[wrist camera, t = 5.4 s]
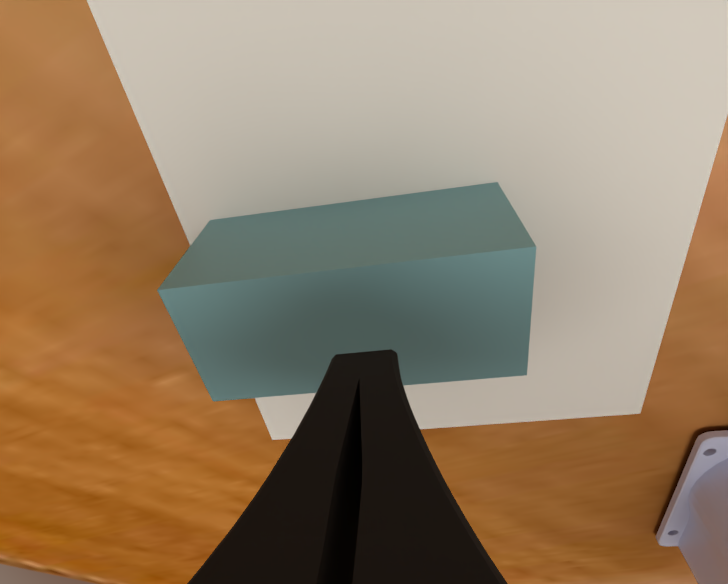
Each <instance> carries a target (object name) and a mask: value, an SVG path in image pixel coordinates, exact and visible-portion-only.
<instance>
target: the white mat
mask: <svg viewBox="0 0 728 584" xmlns="http://www.w3.org/2000/svg"><path fill="white" fill-rule="evenodd" d="M87 2H88V4H89V7H90V9H91V12H92V14H93V16H94V19H95V21H96V23H97V26H98V28H99V31H100V33H101V35H102V38H103V40H104V42H105V45H106V47H107V49H108V52H109V54H110V57H111V59H112V61H113V64H114V66H115V68H116V71H117V73H118V76H119V78H120V80H121V83H122V85H123V87H124V90H125V92H126V94H127V97H128V99H129V102H130V104H131V106H132V109H133V111H134V113H135V116H136V118H137V121H138V123H139V125H140V128H141V130H142V132H143V135H144V137H145V139H146V142H147V144H148V147H149V149H150V151H151V154H152V156H153V158H154V161H155V163H156V165H157V168H158V170H159V173H160V175H161V177H162V180H163V182H164V184H165V187H166V189H167V192H168V194H169V196H170V199H171V201H172V203H173V206H174V208H175V210H176V213H177V215H178V218H179V220H180V222H181V225H182V227H183V229H184V232H185V234H186V237H187V239H188V241H189V244H190V246H191V245H192V243H193V242H194V241H195V239H196V238H197V237H198V235H199V234H200V233H201V231H202V230H203V229H204V227H205V226H206V225H207V223H208V222H209V221H210V220H214V219H222V218H229V217H237V216H244V215H252V214H260V213H267V212H275V211H282V210H290V209H297V208H305V207H312V206H320V205H327V204H335V203H343V202H350V201H358V200H365V199H373V198H380V197H388V196H395V195H403V194H411V193H418V192H426V191H433V190H441V189H448V188H456V187H463V186H471V185H478V184H486V183H494V182H498V184H499V185H500V187H501V189H502V190H503V192H504V194H505V195H506V197H507V199H508V200H509V202H510V204H511V205H512V207H513V209H514V210H515V212H516V214H517V215H518V217H519V219H520V220H521V222H522V223H523V225H524V227H525V228H526V230H527V232H528V233H529V235H530V237H531V238H532V240H533V242H534V243H535V245H536V259H535V272H534V286H533V300H532V313H531V327H530V341H529V354H528V368H527V375H524V376H512V377H500V378H488V379H476V380H464V381H452V382H440V383H428V384H416V385H404V390H405V393H406V396H407V399H408V401H409V404H410V407H411V409H412V412H413V414H414V417H415V419H416V421H417V424H418V426H419V429H431V428H445V427H459V426H473V425H487V424H501V423H515V422H529V421H543V420H557V419H571V418H585V417H599V416H613V415H627V414H640V412H641V409H642V406H643V402H644V399H645V395H646V392H647V388H648V385H649V382H650V378H651V375H652V371H653V368H654V365H655V361H656V358H657V354H658V351H659V347H660V344H661V341H662V337H663V334H664V330H665V327H666V323H667V320H668V317H669V313H670V310H671V306H672V303H673V299H674V296H675V293H676V289H677V286H678V282H679V279H680V275H681V272H682V269H683V265H684V262H685V258H686V255H687V252H688V248H689V245H690V241H691V238H692V234H693V231H694V228H695V224H696V221H697V217H698V214H699V210H700V207H701V204H702V200H703V197H704V193H705V190H706V186H707V183H708V180H709V176H710V173H711V169H712V166H713V163H714V159H715V156H716V152H717V149H718V145H719V142H720V139H721V135H722V132H723V128H724V125H725V121H726V118H727V115H728V0H87ZM315 394H316V393H308V394H296V395H284V396H272V397H260V398H255V400H256V402H257V405H258V407H259V409H260V412H261V414H262V416H263V419H264V421H265V424H266V426H267V428H268V431H269V433H270V435H271V438H272V440H277V439H291V438H292V437H293V435H294V433H295V432H296V430H297V428H298V426H299V424H300V423H301V421H302V419H303V417H304V415H305V413H306V412H307V410H308V408H309V406H310V404H311V402H312V400H313V398H314V396H315Z"/></svg>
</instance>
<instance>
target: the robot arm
mask: <svg viewBox="0 0 728 584" xmlns="http://www.w3.org/2000/svg"><path fill="white" fill-rule="evenodd" d="M656 539H657V541H658V543H659V544H660V545H661V546H678V547H679V549H680V550H681V552H682V554H683V556H684V558H685V560H686V562H687V564H688V565H689V567H690V569H691V571H692V573H693V575H694V577H695V579H696V580H697V582H698V584H728V430H722V431H709V432H705V433H702V434H701V435H699V436H698V437H697V439H696V441H695V444H694V446H693V448H692V451H691V453H690V456H689V458H688V460H687V463H686V465H685V467H684V470H683V472H682V475H681V477H680V479H679V482H678V484H677V487H676V489H675V491H674V494H673V496H672V499H671V501H670V503H669V506H668V508H667V511H666V513H665V515H664V518H663V520H662V522H661V525H660V527H659V530H658V532H657V534H656ZM187 584H507V582H506V581H505V579H504V578H503V576H502V575H501V573H500V572H499V570H498V569H497V567H496V566H495V564H494V563H493V561H492V560H491V558H490V557H489V555H488V554H487V552H486V551H485V549H484V547H483V546H482V544H481V542H480V541H479V539H478V538H477V536H476V534H475V533H474V531H473V529H472V528H471V526H470V524H469V523H468V521H467V519H466V518H465V516H464V514H463V513H462V511H461V509H460V507H459V506H458V504H457V502H456V500H455V499H454V497H453V495H452V493H451V491H450V490H449V488H448V486H447V484H446V482H445V480H444V478H443V477H442V475H441V473H440V471H439V469H438V467H437V465H436V463H435V461H434V459H433V457H432V455H431V453H430V451H429V449H428V446H427V444H426V442H425V440H424V438H423V436H422V433H421V431H420V429H419V426H418V424H417V421H416V419H415V417H414V414H413V412H412V409H411V407H410V404H409V401H408V399H407V396H406V393H405V390H404V386H403V383H402V380H401V375H400V369H399V362H398V355H397V353H396V352H395V351H393V350H392V349H389V350H378V351H368V352H357V353H346V354H336V355H335V356H334V357H333V358H332V360H331V362H330V364H329V367H328V369H327V371H326V374H325V376H324V378H323V380H322V382H321V384H320V386H319V388H318V390H317V392H316V394H315V396H314V398H313V400H312V402H311V404H310V406H309V408H308V410H307V412H306V413H305V415H304V417H303V419H302V421H301V423H300V424H299V426H298V428H297V430H296V432H295V433H294V435H293V437H292V439H291V440H290V442H289V444H288V445H287V447H286V449H285V450H284V452H283V453H282V455H281V457H280V458H279V460H278V461H277V463H276V465H275V466H274V468H273V469H272V471H271V473H270V474H269V476H268V477H267V479H266V480H265V482H264V483H263V485H262V486H261V488H260V489H259V491H258V492H257V494H256V495H255V497H254V498H253V500H252V501H251V502H250V504H249V505H248V507H247V508H246V509H245V511H244V512H243V514H242V515H241V516H240V518H239V519H238V520H237V522H236V523H235V524H234V526H233V527H232V529H231V530H230V531H229V532H228V534H227V535H226V536H225V538H224V539H223V540H222V541H221V543H220V544H219V545H218V546H217V548H216V549H215V550H214V551H213V553H212V554H211V555H210V557H209V558H208V559H207V560H206V562H205V563H204V564H203V565H202V567H201V568H200V569H199V570H198V571H197V573H196V574H195V575H194V576H193V578H192V579H191V580H190V581H189V582H188V583H187Z"/></svg>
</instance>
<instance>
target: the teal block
mask: <svg viewBox="0 0 728 584" xmlns="http://www.w3.org/2000/svg"><path fill="white" fill-rule="evenodd" d="M535 259H536V245H535V243H534V242H533V240H532V238H531V237H530V235H529V233H528V232H527V230H526V228H525V227H524V225H523V223H522V222H521V220H520V219H519V217H518V215H517V214H516V212H515V210H514V209H513V207H512V205H511V204H510V202H509V200H508V199H507V197H506V195H505V194H504V192H503V190H502V189H501V187H500V185H499V184H498V182H494V183H486V184H478V185H471V186H463V187H456V188H448V189H441V190H433V191H426V192H418V193H411V194H403V195H395V196H388V197H380V198H373V199H365V200H358V201H350V202H343V203H335V204H327V205H320V206H312V207H305V208H297V209H290V210H282V211H275V212H267V213H260V214H252V215H244V216H237V217H229V218H222V219H214V220H210V221H209V222H208V223H207V225H206V226H205V227H204V229H203V230H202V231H201V233H200V234H199V235H198V237H197V238H196V239H195V241H194V242H193V243H192V245H191V246H190V247H189V249H188V250H187V251H186V253H185V254H184V255H183V257H182V258H181V259H180V261H179V262H178V263H177V265H176V266H175V267H174V269H173V270H172V271H171V273H170V274H169V275H168V277H167V278H166V279H165V280H164V282H163V283H162V284H161V286H160V287H159V288H158V290H157V291H158V293H159V295H160V297H161V299H162V301H163V303H164V305H165V306H166V308H167V310H168V312H169V314H170V316H171V318H172V320H173V322H174V324H175V326H176V328H177V330H178V332H179V334H180V336H181V338H182V340H183V342H184V344H185V346H186V348H187V350H188V352H189V354H190V356H191V358H192V360H193V362H194V364H195V366H196V368H197V370H198V372H199V374H200V376H201V378H202V380H203V382H204V384H205V386H206V388H207V390H208V392H209V394H210V396H211V398H212V400H213V401H224V400H236V399H248V398H260V397H272V396H284V395H296V394H308V393H316V392H317V390H318V388H319V386H320V384H321V382H322V380H323V378H324V376H325V374H326V371H327V369H328V367H329V364H330V362H331V360H332V358H333V357H334V356H335V355H336V354H346V353H357V352H368V351H378V350H389V349H392V350H393V351H395V352H396V353H397V355H398V362H399V369H400V375H401V380H402V383H403V386H404V385H416V384H428V383H440V382H452V381H464V380H476V379H488V378H500V377H512V376H524V375H527V368H528V354H529V341H530V327H531V313H532V300H533V286H534V272H535Z"/></svg>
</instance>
